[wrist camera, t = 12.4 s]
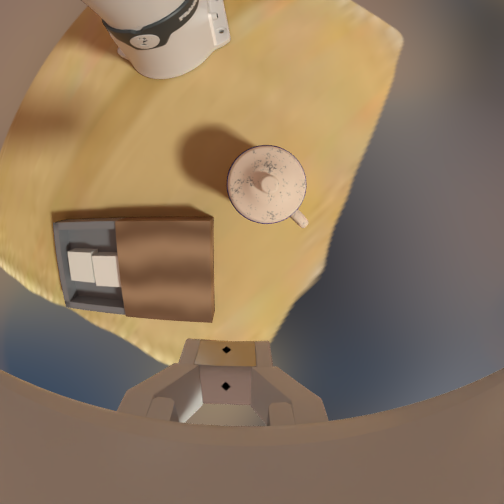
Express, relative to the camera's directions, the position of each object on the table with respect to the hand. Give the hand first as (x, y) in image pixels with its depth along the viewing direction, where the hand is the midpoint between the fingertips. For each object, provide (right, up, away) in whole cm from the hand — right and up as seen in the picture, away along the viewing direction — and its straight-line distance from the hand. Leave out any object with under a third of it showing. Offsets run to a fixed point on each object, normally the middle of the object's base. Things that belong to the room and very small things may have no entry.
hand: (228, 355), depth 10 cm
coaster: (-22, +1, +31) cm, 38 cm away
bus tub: (-25, +2, +31) cm, 40 cm away
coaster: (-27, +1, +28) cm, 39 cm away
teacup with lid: (+3, +13, +29) cm, 32 cm away
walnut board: (-12, +2, +31) cm, 34 cm away
